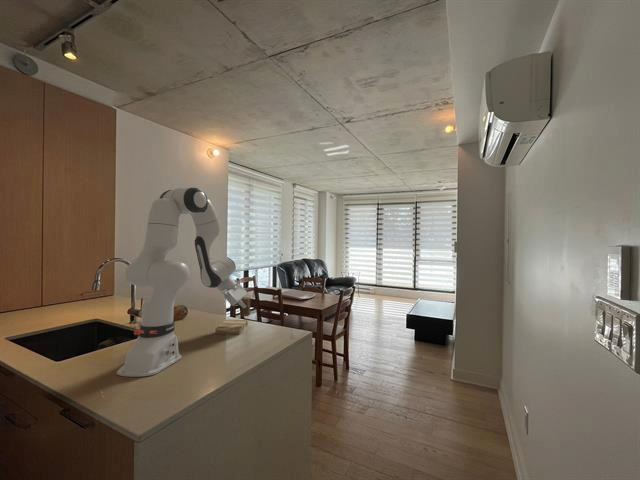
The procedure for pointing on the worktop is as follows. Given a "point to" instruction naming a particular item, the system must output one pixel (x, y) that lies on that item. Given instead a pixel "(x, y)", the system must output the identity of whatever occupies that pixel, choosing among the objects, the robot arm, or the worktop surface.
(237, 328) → the board
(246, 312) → the block
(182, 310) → the brown flat oval piece
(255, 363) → the worktop surface
